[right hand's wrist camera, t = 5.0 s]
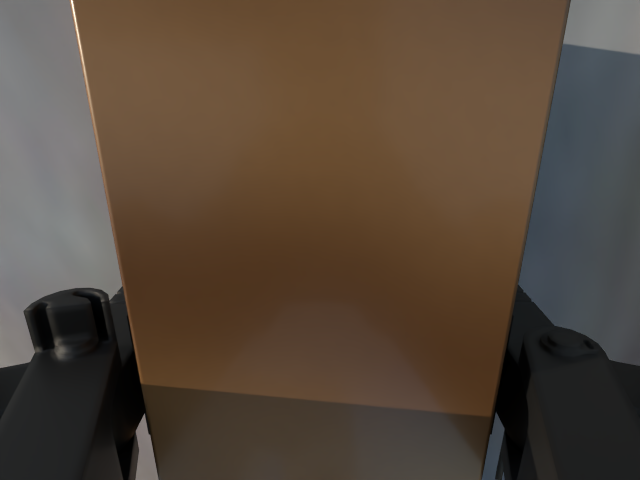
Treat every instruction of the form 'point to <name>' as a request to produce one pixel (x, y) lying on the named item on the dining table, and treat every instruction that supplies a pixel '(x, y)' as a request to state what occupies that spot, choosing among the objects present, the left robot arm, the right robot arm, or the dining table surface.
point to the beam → (320, 222)
